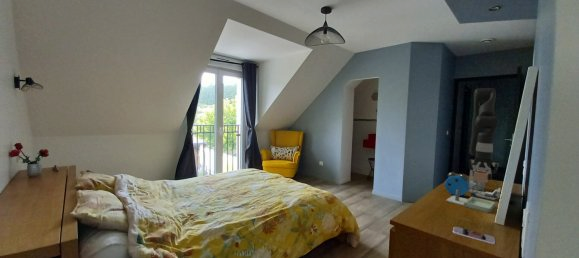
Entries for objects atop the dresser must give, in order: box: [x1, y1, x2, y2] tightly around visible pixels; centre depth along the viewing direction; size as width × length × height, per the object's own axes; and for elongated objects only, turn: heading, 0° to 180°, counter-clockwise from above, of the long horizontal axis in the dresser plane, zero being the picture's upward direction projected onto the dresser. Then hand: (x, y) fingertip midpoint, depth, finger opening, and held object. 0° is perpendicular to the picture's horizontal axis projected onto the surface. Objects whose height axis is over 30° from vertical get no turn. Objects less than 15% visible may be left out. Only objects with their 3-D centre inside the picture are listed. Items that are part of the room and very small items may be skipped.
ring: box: [473, 170, 490, 183], centre depth 141 cm, size 11×6×4 cm, turn 130°
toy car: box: [468, 180, 502, 203], centre depth 159 cm, size 18×10×12 cm
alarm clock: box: [444, 171, 471, 197], centre depth 161 cm, size 13×6×15 cm, turn 45°
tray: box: [463, 196, 496, 214], centre depth 142 cm, size 16×12×2 cm
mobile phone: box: [452, 226, 496, 245], centre depth 109 cm, size 8×1×15 cm
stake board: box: [445, 190, 469, 206], centre depth 150 cm, size 13×9×7 cm
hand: (481, 178), depth 140 cm, fingers closed on ring, 6 cm apart
